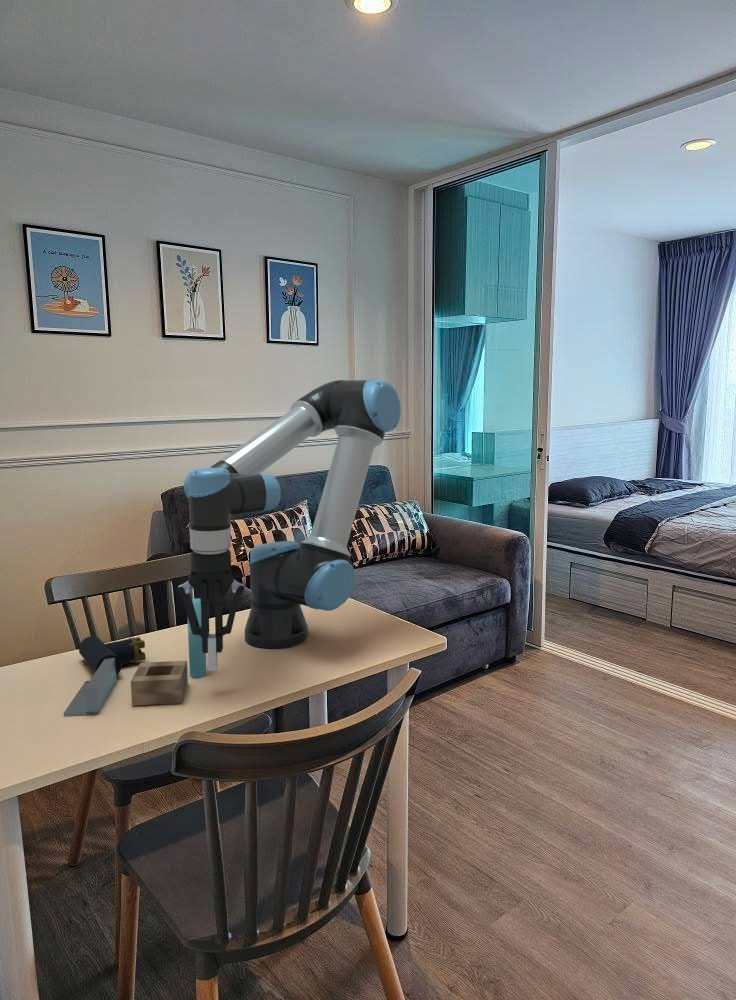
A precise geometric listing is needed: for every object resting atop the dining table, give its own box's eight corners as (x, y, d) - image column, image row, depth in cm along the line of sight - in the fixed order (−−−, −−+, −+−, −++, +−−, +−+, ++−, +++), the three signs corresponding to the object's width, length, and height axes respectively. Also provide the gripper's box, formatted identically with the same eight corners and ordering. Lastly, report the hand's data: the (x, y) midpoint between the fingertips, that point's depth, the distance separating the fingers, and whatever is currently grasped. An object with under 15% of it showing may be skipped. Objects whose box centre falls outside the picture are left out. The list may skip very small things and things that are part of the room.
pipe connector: (131, 627, 155) (152, 645, 143) (132, 650, 156) (153, 669, 143) (77, 638, 148) (95, 657, 136) (79, 661, 149) (97, 682, 137)
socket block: (187, 683, 137) (186, 660, 137) (181, 703, 129) (180, 679, 128) (141, 685, 136) (140, 662, 136) (132, 705, 128) (130, 681, 127)
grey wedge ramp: (116, 682, 138) (115, 657, 137) (98, 714, 124) (96, 687, 124) (85, 683, 137) (84, 659, 137) (63, 716, 124) (61, 689, 123)
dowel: (207, 670, 144) (204, 598, 141) (205, 677, 141) (202, 603, 138) (191, 671, 143) (188, 598, 141) (188, 678, 140) (185, 603, 138)
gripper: (246, 545, 134) (247, 659, 137) (178, 545, 132) (181, 661, 135) (244, 553, 126) (245, 674, 130) (172, 554, 125) (175, 676, 128)
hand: (213, 667), depth 133 cm, fingers closed
